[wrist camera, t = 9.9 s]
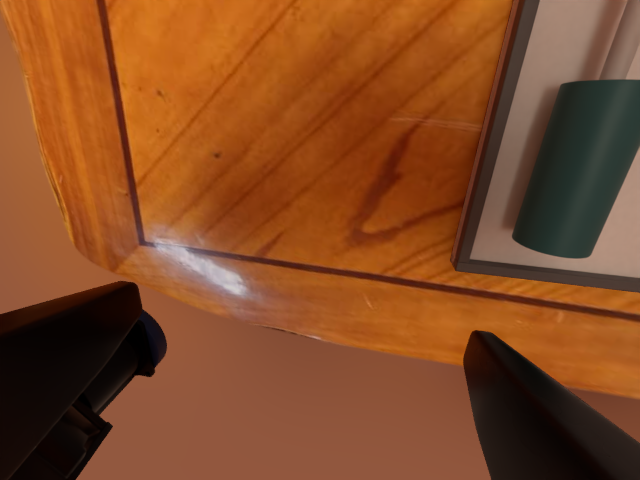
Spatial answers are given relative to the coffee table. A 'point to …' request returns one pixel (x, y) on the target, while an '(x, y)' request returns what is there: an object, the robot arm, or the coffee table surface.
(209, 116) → the coffee table surface
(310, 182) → the coffee table surface
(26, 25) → the coffee table surface
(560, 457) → the robot arm
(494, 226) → the whiteboard
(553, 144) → the screwdriver
